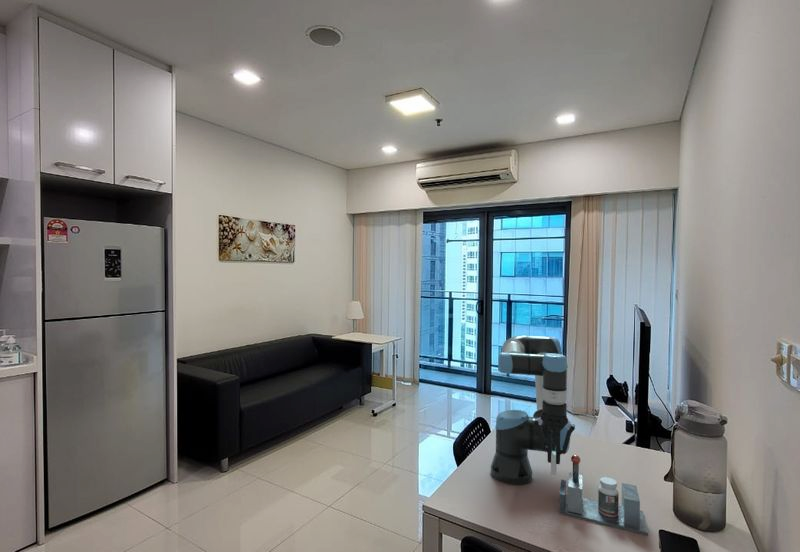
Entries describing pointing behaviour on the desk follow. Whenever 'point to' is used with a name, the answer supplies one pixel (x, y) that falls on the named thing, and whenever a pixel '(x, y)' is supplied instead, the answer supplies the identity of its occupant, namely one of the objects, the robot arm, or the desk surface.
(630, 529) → the vise body
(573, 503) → the free jaw
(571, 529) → the desk surface
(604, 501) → the pill bottle
